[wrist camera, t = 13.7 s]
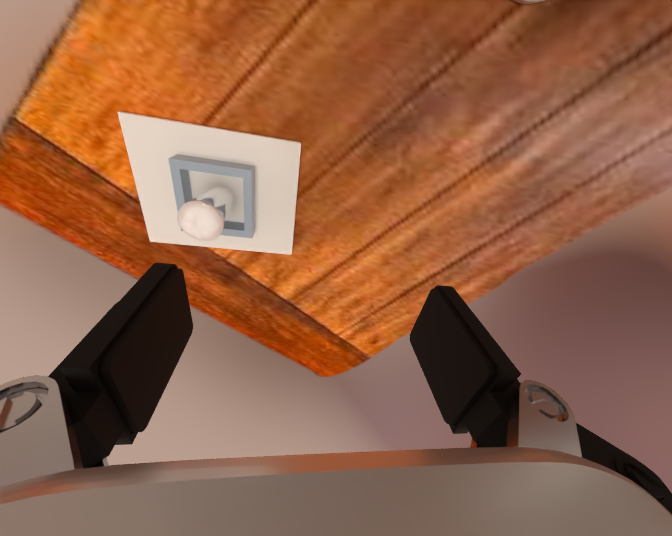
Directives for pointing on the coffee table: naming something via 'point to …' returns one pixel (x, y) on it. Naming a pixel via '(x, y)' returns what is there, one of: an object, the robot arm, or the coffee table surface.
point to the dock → (214, 180)
